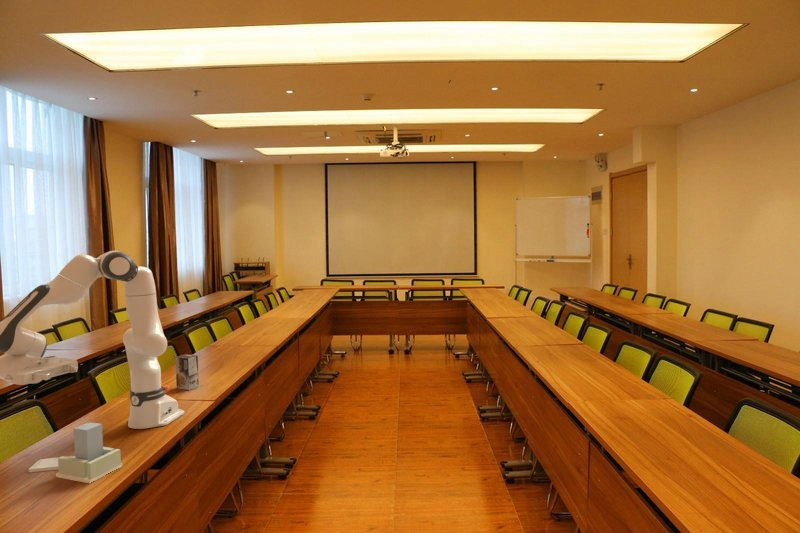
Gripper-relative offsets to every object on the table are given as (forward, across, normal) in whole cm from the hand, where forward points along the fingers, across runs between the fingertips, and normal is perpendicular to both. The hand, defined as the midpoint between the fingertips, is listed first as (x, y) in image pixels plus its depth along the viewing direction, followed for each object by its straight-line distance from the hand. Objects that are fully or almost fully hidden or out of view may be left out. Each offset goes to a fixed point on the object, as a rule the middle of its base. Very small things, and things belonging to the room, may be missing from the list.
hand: (62, 373), depth 170 cm
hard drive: (0, -4, +31) cm, 31 cm away
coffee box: (-20, +81, +30) cm, 89 cm away
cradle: (+15, -4, +30) cm, 34 cm away
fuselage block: (+15, -4, +29) cm, 33 cm away
